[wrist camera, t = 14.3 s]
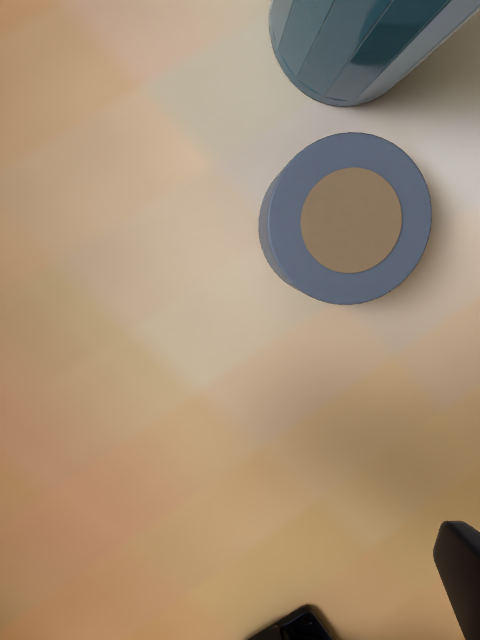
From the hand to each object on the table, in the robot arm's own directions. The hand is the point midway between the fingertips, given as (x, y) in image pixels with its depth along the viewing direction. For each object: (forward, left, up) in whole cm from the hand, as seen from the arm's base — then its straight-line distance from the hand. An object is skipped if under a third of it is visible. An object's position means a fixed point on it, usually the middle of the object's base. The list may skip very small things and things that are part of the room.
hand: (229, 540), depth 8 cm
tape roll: (+3, -8, -12) cm, 15 cm away
